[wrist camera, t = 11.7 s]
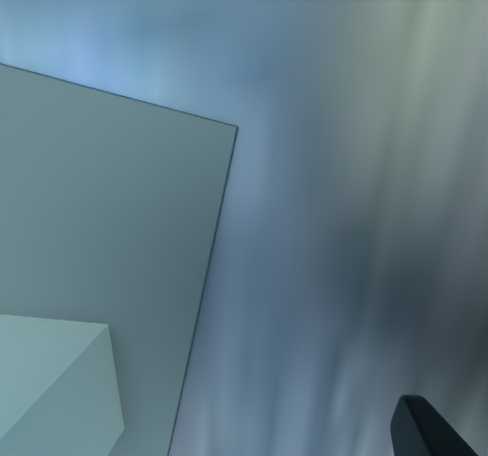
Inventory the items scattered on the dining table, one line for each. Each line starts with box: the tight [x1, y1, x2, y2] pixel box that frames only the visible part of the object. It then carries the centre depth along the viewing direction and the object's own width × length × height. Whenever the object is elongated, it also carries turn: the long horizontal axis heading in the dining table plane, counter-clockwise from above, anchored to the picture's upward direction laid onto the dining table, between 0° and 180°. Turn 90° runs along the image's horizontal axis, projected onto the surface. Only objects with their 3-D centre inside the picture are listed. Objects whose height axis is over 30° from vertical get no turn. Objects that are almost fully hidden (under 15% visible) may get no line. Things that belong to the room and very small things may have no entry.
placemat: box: [0, 64, 238, 456], centre depth 24 cm, size 22×14×1 cm, turn 167°
